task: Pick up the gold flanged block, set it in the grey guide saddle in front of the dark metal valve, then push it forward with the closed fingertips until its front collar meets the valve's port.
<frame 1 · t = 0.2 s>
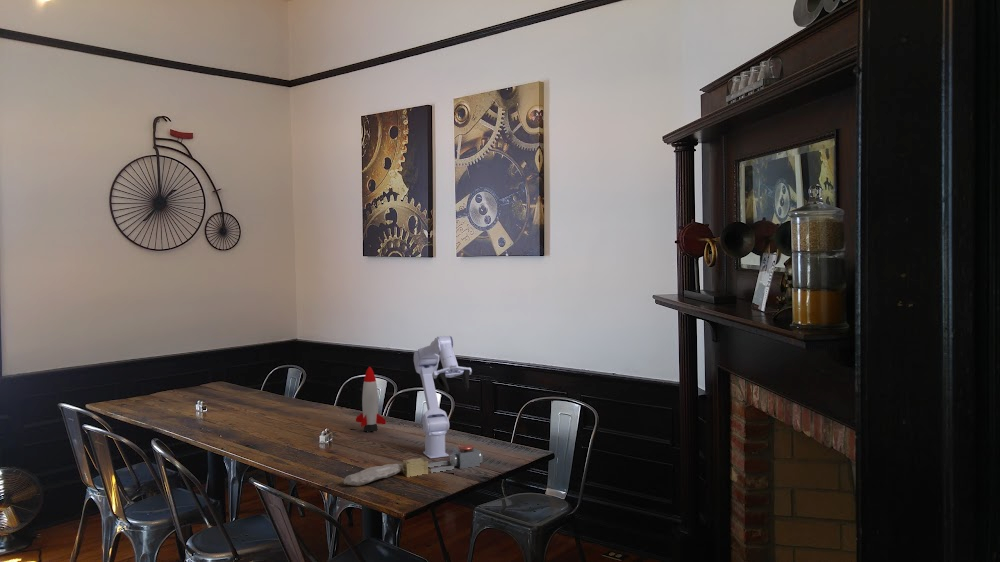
hand: (457, 390, 255), 31 cm above the table, tool tilted 45°, fingers open, 7 cm apart
valve: (466, 465, 267), on the table
stone tool: (375, 480, 251), on the table
gold flanged block: (415, 473, 257), on the table
toy rocket: (370, 431, 324), on the table
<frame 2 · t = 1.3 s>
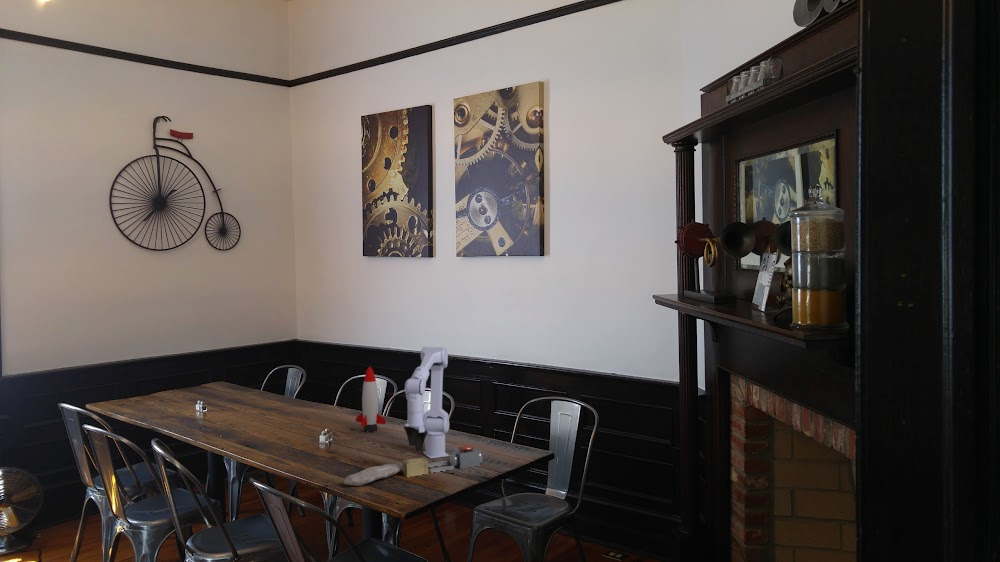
hand: (415, 448, 257), 10 cm above the table, tool pointing down, fingers open, 7 cm apart
nothing on the table moved.
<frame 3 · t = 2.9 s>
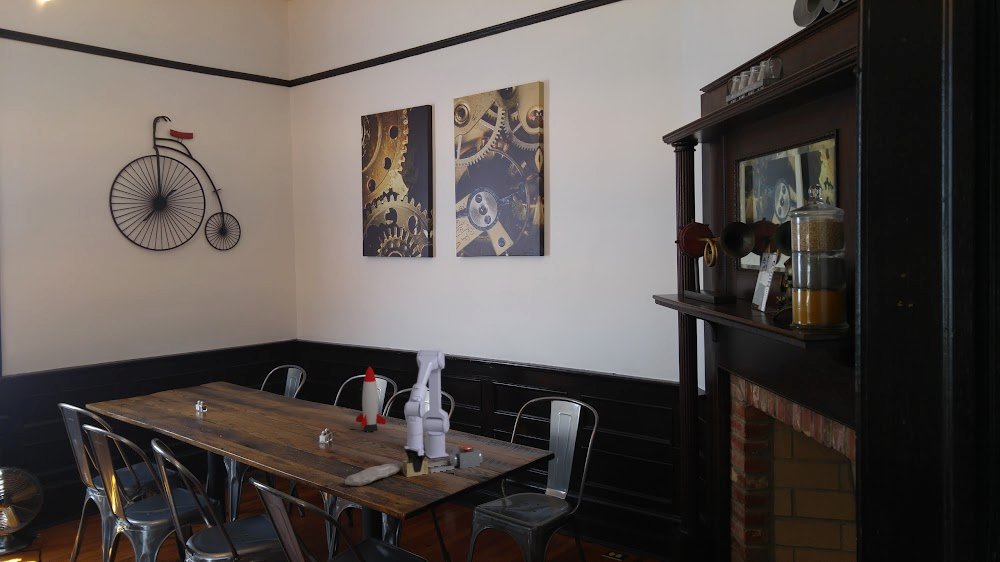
hand: (415, 470, 257), 1 cm above the table, tool pointing down, fingers closed on gold flanged block, 4 cm apart
gold flanged block: (415, 473, 257), on the table, touching gripper
everything else where it was.
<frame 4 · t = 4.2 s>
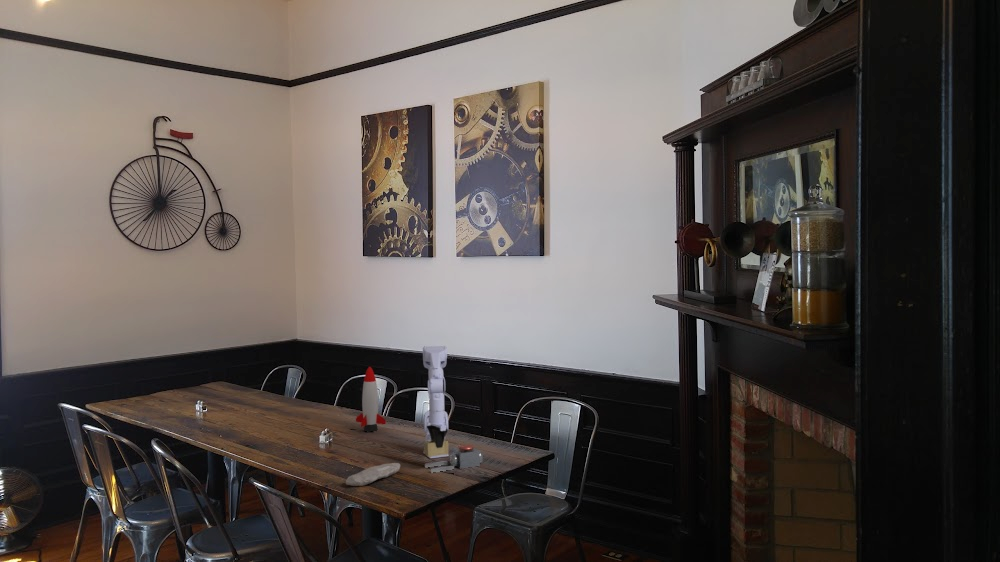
hand: (437, 445, 262), 9 cm above the table, tool pointing down, fingers closed on gold flanged block, 4 cm apart
gold flanged block: (436, 453, 262), point 6 cm above the table, touching gripper
everything else where it was.
when the fingers open (2 cm above the table, at t = 5.9 s): gold flanged block stays where it is, on the table.
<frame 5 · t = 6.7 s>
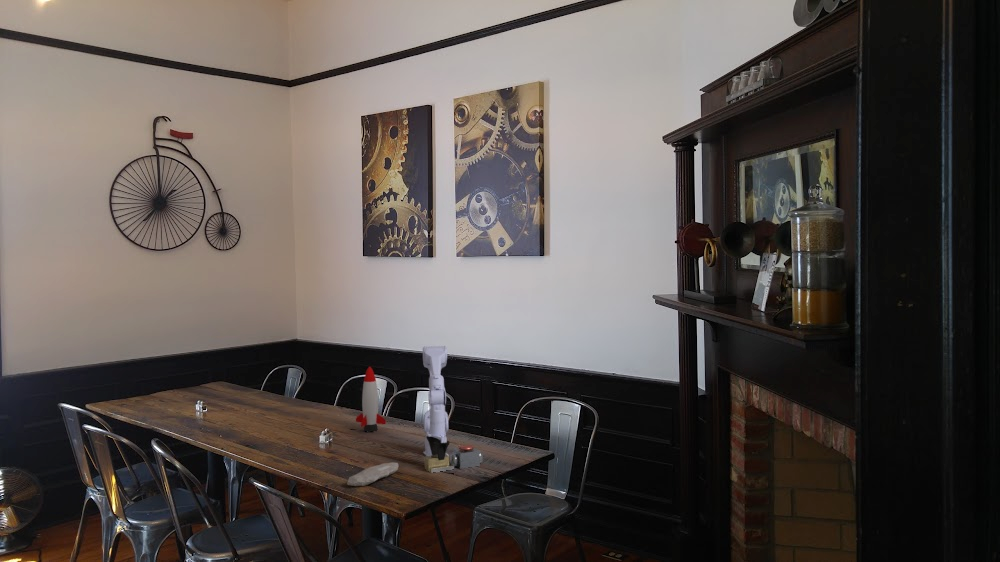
hand: (437, 457, 263), 4 cm above the table, tool pointing down, fingers open, 7 cm apart
gold flanged block: (437, 469, 262), on the table
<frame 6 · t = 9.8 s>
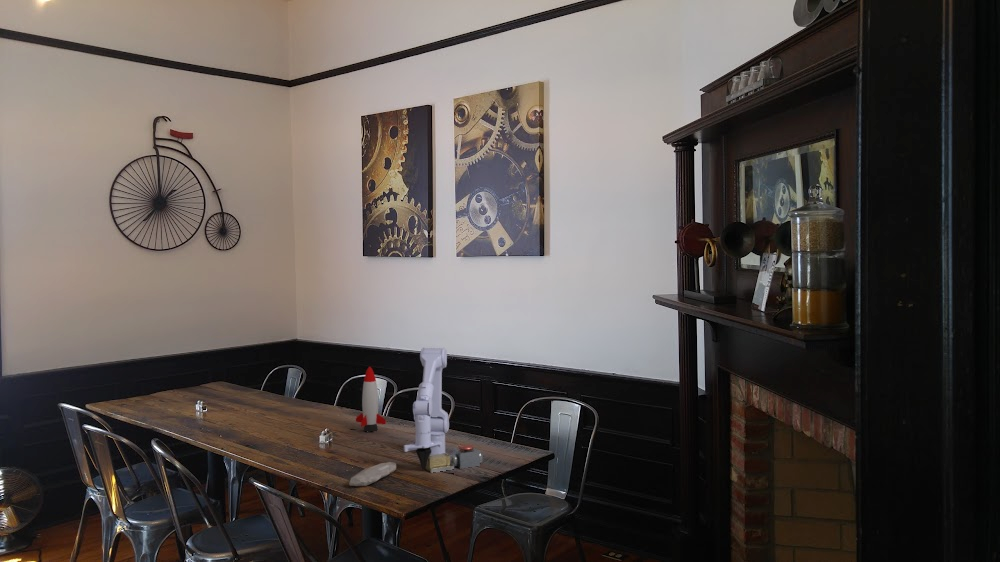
hand: (423, 468, 260), 1 cm above the table, tool pointing down, fingers closed
gold flanged block: (437, 469, 263), on the table, touching gripper
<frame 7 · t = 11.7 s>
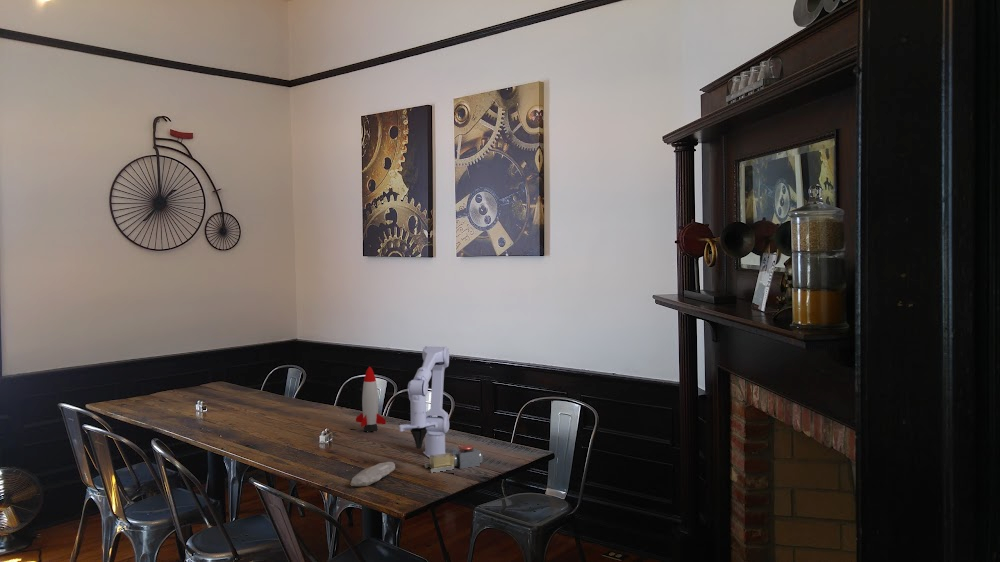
hand: (418, 448, 259), 9 cm above the table, tool pointing down, fingers closed
gold flanged block: (441, 468, 263), on the table
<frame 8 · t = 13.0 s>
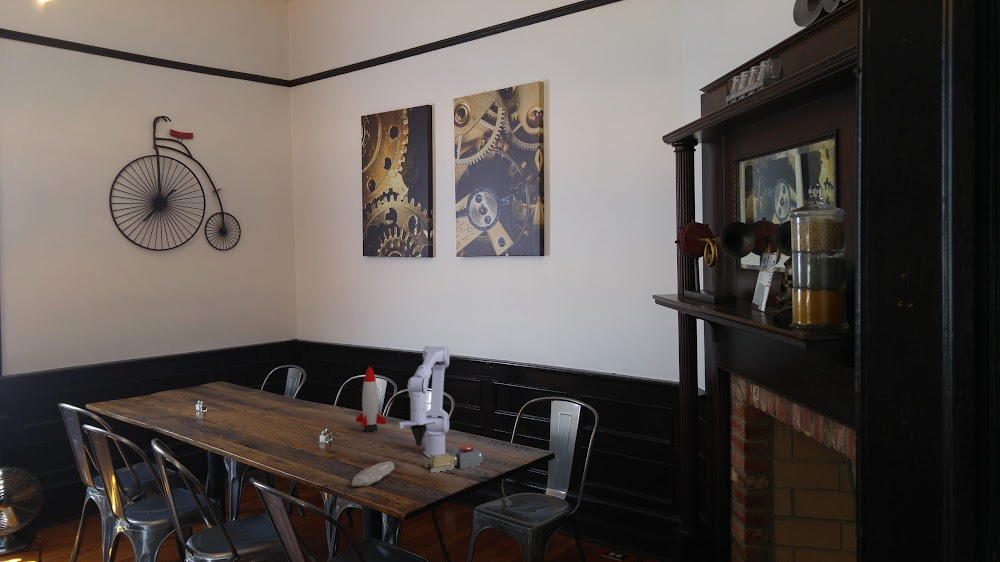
hand: (418, 445, 259), 10 cm above the table, tool pointing down, fingers closed
at the end: gold flanged block 0.1 cm from the target spot on the valve, point 0.0 cm above the valve's base; gold flanged block tilted 0°; the gripper is holding nothing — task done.
